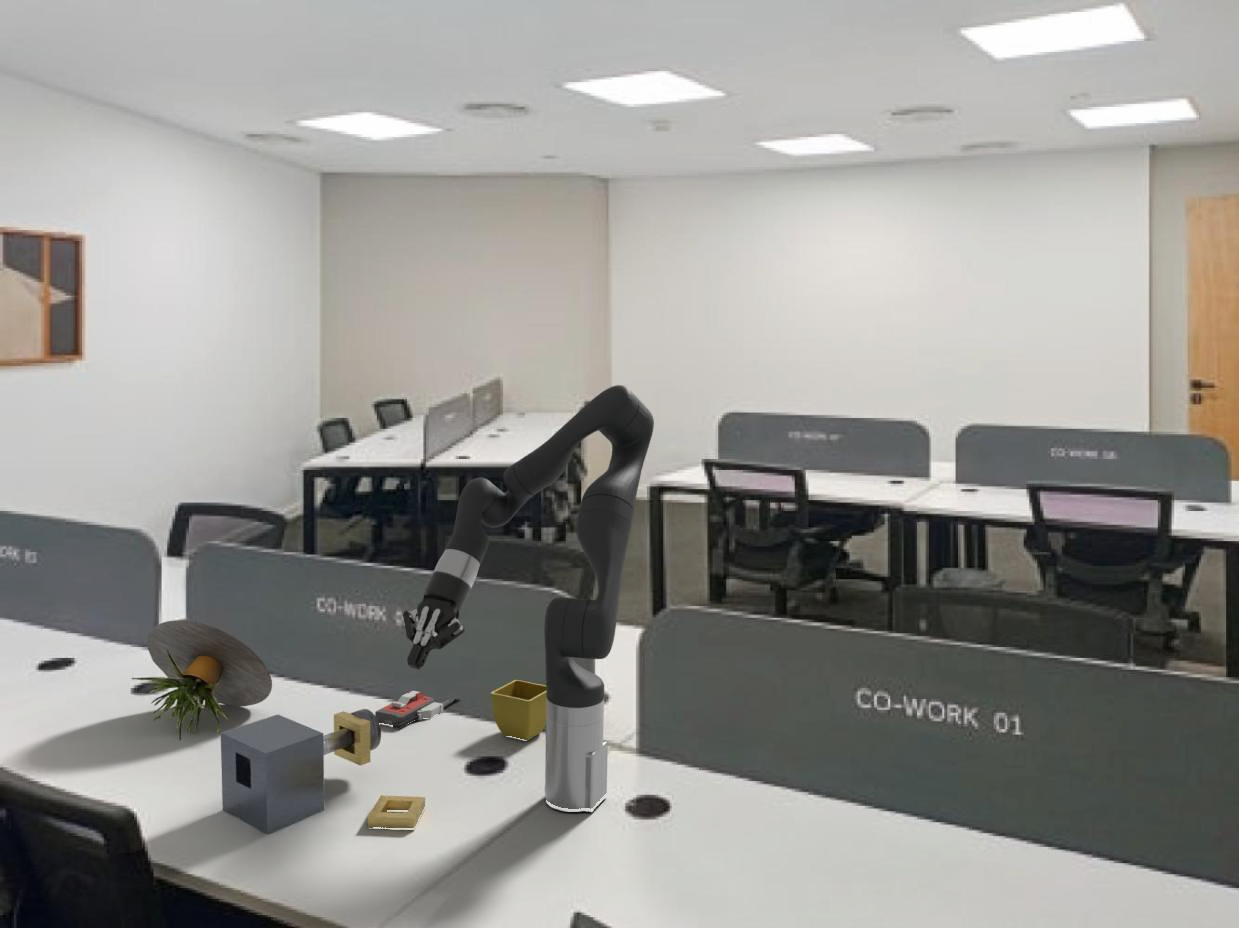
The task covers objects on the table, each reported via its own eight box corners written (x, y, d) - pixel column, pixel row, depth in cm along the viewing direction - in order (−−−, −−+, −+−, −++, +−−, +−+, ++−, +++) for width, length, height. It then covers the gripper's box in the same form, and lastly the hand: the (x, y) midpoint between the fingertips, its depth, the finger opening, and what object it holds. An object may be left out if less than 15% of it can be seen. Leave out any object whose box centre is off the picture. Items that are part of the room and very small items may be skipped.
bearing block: (279, 787, 160) (277, 714, 159) (324, 809, 153) (323, 733, 152) (222, 809, 153) (220, 732, 151) (267, 834, 145) (265, 753, 144)
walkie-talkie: (406, 736, 184) (465, 702, 202) (405, 713, 184) (465, 681, 202) (368, 727, 188) (430, 695, 206) (368, 705, 187) (430, 674, 205)
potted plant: (135, 750, 191) (76, 687, 172) (184, 672, 202) (134, 605, 183) (248, 780, 185) (201, 719, 167) (292, 699, 197) (253, 633, 178)
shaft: (354, 743, 169) (354, 704, 168) (381, 754, 165) (380, 714, 164) (249, 782, 153) (248, 739, 152) (276, 796, 149) (275, 751, 148)
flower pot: (489, 738, 182) (489, 692, 181) (515, 723, 190) (515, 678, 189) (528, 748, 178) (529, 701, 177) (554, 732, 186) (554, 686, 185)
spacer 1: (344, 750, 167) (343, 711, 166) (370, 761, 163) (370, 721, 162) (334, 754, 166) (333, 714, 165) (360, 765, 161) (360, 724, 161)
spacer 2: (425, 809, 154) (425, 797, 154) (413, 831, 147) (413, 818, 147) (380, 807, 155) (380, 795, 154) (367, 829, 148) (367, 816, 147)
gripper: (491, 594, 180) (453, 682, 172) (433, 582, 186) (394, 667, 178) (473, 576, 174) (433, 666, 166) (414, 564, 180) (372, 651, 172)
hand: (413, 667), depth 172 cm, fingers closed
